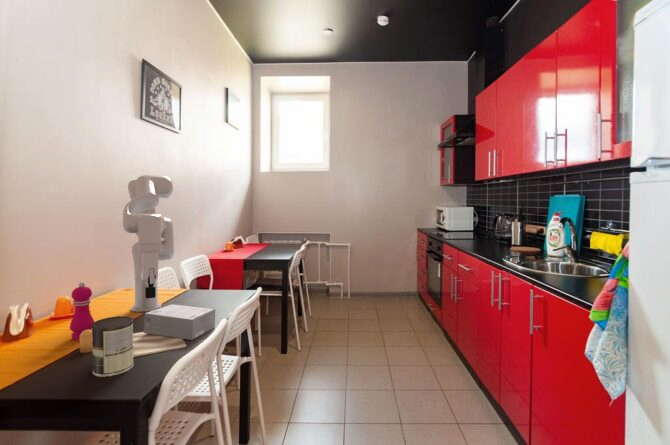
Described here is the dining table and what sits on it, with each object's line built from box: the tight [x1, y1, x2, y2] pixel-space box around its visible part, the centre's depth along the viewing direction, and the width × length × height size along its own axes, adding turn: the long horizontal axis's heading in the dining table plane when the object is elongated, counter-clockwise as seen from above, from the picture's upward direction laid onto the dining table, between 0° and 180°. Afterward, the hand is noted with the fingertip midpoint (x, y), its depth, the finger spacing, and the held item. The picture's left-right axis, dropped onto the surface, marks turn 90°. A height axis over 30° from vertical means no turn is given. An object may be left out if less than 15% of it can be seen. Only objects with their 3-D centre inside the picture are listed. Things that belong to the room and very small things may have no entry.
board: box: [133, 331, 187, 358], centre depth 123 cm, size 22×18×1 cm
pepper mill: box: [69, 282, 95, 341], centre depth 126 cm, size 7×7×20 cm
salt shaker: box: [79, 329, 93, 354], centre depth 115 cm, size 4×4×7 cm
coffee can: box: [91, 315, 134, 378], centre depth 102 cm, size 10×10×14 cm
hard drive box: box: [143, 303, 216, 341], centre depth 133 cm, size 16×8×20 cm
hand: (150, 297), depth 129 cm, fingers closed
